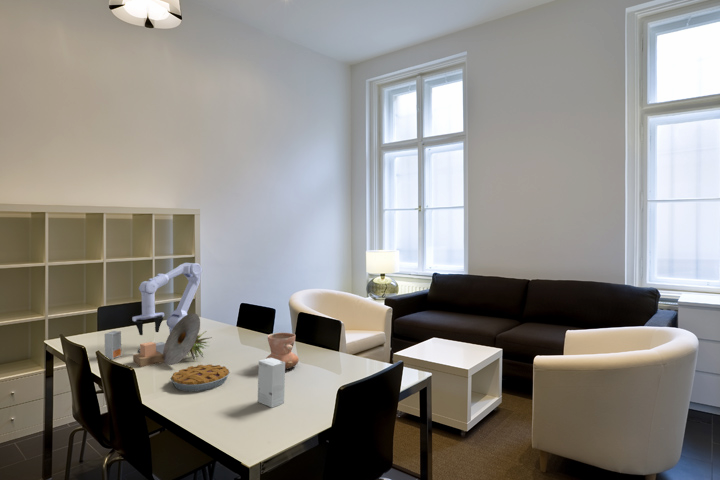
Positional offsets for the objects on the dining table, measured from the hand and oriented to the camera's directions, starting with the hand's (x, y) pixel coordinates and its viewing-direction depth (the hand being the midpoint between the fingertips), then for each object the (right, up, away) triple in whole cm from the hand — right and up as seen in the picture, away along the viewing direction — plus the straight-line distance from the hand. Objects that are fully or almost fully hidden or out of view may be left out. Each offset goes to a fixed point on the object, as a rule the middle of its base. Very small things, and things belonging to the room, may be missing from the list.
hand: (149, 333), depth 218 cm
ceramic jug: (+69, -10, -22) cm, 73 cm away
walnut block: (+6, -11, -14) cm, 19 cm away
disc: (+23, -10, -10) cm, 27 cm away
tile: (-2, -10, +4) cm, 11 cm away
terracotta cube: (+6, -7, -14) cm, 17 cm away
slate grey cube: (+5, -10, 0) cm, 11 cm away
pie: (+40, -11, -41) cm, 58 cm away
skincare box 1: (-14, -11, -5) cm, 19 cm away
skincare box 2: (+72, -12, -62) cm, 96 cm away
